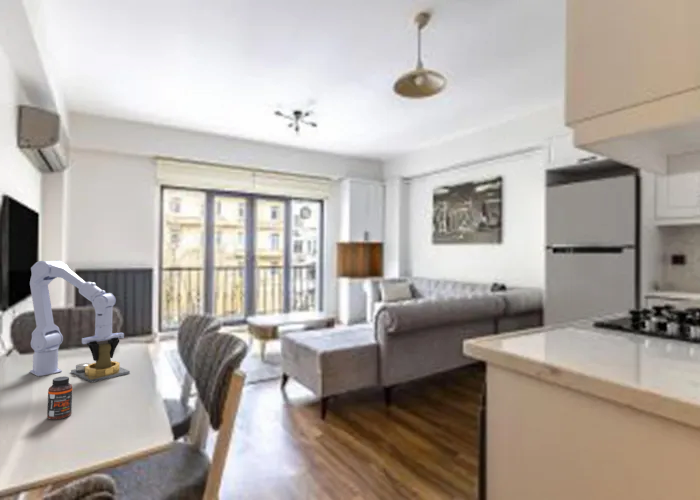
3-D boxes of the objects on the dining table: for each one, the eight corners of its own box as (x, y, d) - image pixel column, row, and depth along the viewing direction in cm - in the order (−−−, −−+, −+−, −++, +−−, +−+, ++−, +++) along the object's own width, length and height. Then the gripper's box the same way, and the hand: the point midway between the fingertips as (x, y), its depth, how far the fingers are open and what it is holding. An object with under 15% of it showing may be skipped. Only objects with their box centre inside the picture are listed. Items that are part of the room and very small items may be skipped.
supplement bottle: (52, 422, 116) (53, 383, 116) (43, 417, 119) (44, 378, 119) (75, 415, 121) (76, 377, 121) (66, 410, 124) (67, 373, 124)
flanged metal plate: (71, 372, 160) (71, 363, 160) (108, 364, 171) (109, 356, 171) (90, 382, 149) (90, 373, 149) (129, 373, 161) (129, 364, 161)
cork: (104, 374, 156) (104, 346, 155) (90, 373, 156) (90, 345, 156) (115, 370, 162) (116, 342, 161) (102, 368, 162) (102, 341, 162)
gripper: (87, 328, 151) (86, 364, 151) (127, 323, 163) (127, 357, 163) (79, 326, 155) (79, 361, 155) (119, 321, 167) (118, 353, 167)
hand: (103, 359), depth 159 cm, fingers closed on cork, 5 cm apart
